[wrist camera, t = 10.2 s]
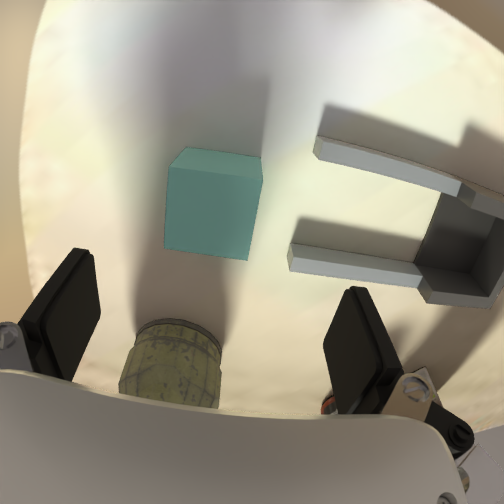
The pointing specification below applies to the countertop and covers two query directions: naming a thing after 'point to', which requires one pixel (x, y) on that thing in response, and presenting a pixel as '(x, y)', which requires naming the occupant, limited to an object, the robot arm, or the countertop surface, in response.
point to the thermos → (174, 365)
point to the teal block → (212, 203)
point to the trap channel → (435, 241)
